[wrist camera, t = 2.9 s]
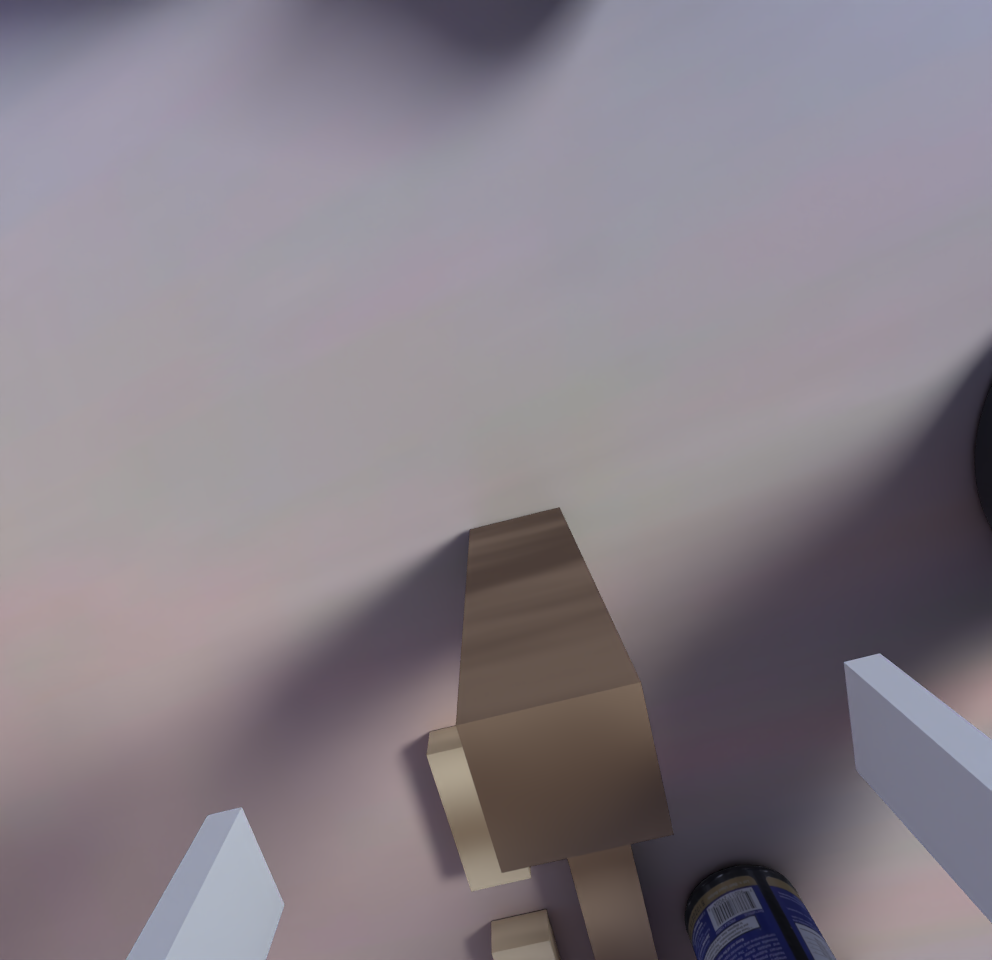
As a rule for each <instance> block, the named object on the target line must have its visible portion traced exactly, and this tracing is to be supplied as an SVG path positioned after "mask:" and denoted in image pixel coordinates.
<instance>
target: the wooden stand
mask: <svg viewBox="0 0 992 960" xmlns="http://www.w3.org/2000/svg"><path fill="white" fill-rule="evenodd" d="M456 728H457V731H458V734H459V737H460V741H461V744H462V747H463V750H464V754H465V757H466V760H467V763H468V766H469V770H470V773H471V776H472V779H473V783H474V786H475V789H476V792H477V795H478V799H479V802H480V805H481V808H482V812H483V815H484V818H485V821H486V824H487V828H488V831H489V834H490V837H491V840H492V844H493V847H494V850H495V853H496V857H497V860H498V863H499V866H500V869H501V873H505V872H509V871H514V870H518V869H523V868H527V867H531V866H536V865H540V864H545V863H549V862H554V861H558V860H563V859H568V863H569V866H570V870H571V874H572V877H573V881H574V885H575V888H576V892H577V896H578V899H579V903H580V906H581V910H582V914H583V917H584V921H585V925H586V928H587V932H588V936H589V939H590V943H591V947H592V950H593V954H594V958H595V960H658V958H657V953H656V949H655V945H654V941H653V937H652V933H651V928H650V924H649V920H648V916H647V912H646V908H645V903H644V899H643V895H642V891H641V887H640V882H639V878H638V874H637V870H636V866H635V862H634V857H633V853H632V849H631V845H630V844H634V843H638V842H643V841H647V840H652V839H656V838H661V837H665V836H670V835H674V833H673V829H672V824H671V819H670V815H669V810H668V806H667V801H666V796H665V792H664V787H663V782H662V778H661V773H660V769H659V764H658V759H657V755H656V750H655V745H654V741H653V736H652V731H651V727H650V722H649V718H648V713H647V708H646V704H645V699H644V694H643V690H642V685H641V681H640V679H639V677H638V675H637V673H636V671H635V669H634V666H633V664H632V662H631V660H630V658H629V656H628V653H627V651H626V649H625V647H624V645H623V643H622V641H621V638H620V636H619V634H618V632H617V630H616V628H615V626H614V623H613V621H612V619H611V617H610V615H609V613H608V611H607V608H606V606H605V604H604V602H603V600H602V598H601V595H600V593H599V591H598V589H597V587H596V585H595V583H594V580H593V578H592V576H591V574H590V572H589V570H588V568H587V565H586V563H585V561H584V559H583V557H582V555H581V553H580V550H579V548H578V546H577V544H576V542H575V540H574V538H573V535H572V533H571V531H570V529H569V527H568V525H567V522H566V520H565V518H564V516H563V514H562V512H561V510H560V507H559V508H555V509H551V510H547V511H543V512H539V513H535V514H531V515H527V516H523V517H519V518H515V519H511V520H507V521H503V522H499V523H495V524H491V525H487V526H483V527H479V528H475V529H470V535H469V549H468V563H467V577H466V591H465V605H464V619H463V633H462V647H461V661H460V675H459V688H458V702H457V716H456Z"/></svg>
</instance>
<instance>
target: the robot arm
mask: <svg viewBox="0 0 992 960" xmlns="http://www.w3.org/2000/svg"><path fill="white" fill-rule="evenodd" d="M975 473H976V483H977V488H978V493H979V497H980V501H981V505H982V508H983V510H984V513H985V516H986V518H987V520H988V522H989V524H990V526H991V528H992V386H991V388H990V391H989V393H988V396H987V399H986V402H985V404H984V407H983V411H982V415H981V418H980V423H979V427H978V432H977V440H976V450H975ZM844 669H845V678H846V687H847V695H848V704H849V713H850V722H851V730H852V739H853V748H854V757H855V766H856V771H857V772H858V773H859V774H860V775H861V776H862V777H863V779H864V780H865V781H866V782H867V783H868V784H869V785H870V786H871V788H872V789H873V790H874V791H875V792H876V793H877V794H878V795H879V797H880V798H881V799H882V800H883V801H884V802H885V803H886V804H887V806H888V807H889V808H890V809H891V810H892V811H893V812H894V813H895V815H896V816H897V817H898V818H899V819H900V820H901V821H902V822H903V824H904V825H905V826H906V827H907V828H908V829H909V830H910V832H911V833H912V834H913V835H914V836H915V837H916V838H917V839H918V841H919V842H920V843H921V844H922V845H923V846H924V847H925V848H926V850H927V851H928V852H929V853H930V854H931V855H932V856H933V857H934V859H935V860H936V861H937V862H938V863H939V864H940V865H941V866H942V868H943V869H944V870H945V871H946V872H947V873H948V874H949V876H950V877H951V878H952V879H953V880H954V881H955V882H956V883H957V885H958V886H959V887H960V888H961V889H962V890H963V891H964V892H965V894H966V895H967V896H968V897H969V898H970V899H971V900H972V901H973V903H974V904H975V905H976V906H977V907H978V908H979V909H980V910H981V912H982V913H983V914H984V915H985V916H986V917H987V918H988V919H989V921H990V922H991V923H992V740H991V739H990V738H989V737H988V736H986V735H985V734H984V733H982V732H981V731H980V730H979V729H977V728H976V727H975V726H973V725H972V724H971V723H969V722H968V721H967V720H966V719H964V718H963V717H962V716H960V715H959V714H958V713H957V712H955V711H954V710H953V709H951V708H950V707H949V706H947V705H946V704H945V703H944V702H942V701H941V700H940V699H938V698H937V697H936V696H935V695H933V694H932V693H931V692H929V691H928V690H927V689H925V688H924V687H923V686H922V685H920V684H919V683H918V682H916V681H915V680H914V679H913V678H911V677H910V676H909V675H907V674H906V673H905V672H903V671H902V670H901V669H900V668H898V667H897V666H896V665H894V664H893V663H892V662H890V661H889V660H888V659H887V658H885V657H884V656H883V655H881V654H880V653H879V654H875V655H871V656H867V657H863V658H858V659H854V660H850V661H846V662H844ZM283 908H284V902H283V900H282V898H281V896H280V893H279V891H278V889H277V886H276V884H275V882H274V880H273V877H272V875H271V873H270V870H269V868H268V866H267V864H266V861H265V859H264V857H263V854H262V852H261V850H260V848H259V845H258V843H257V841H256V838H255V836H254V834H253V832H252V829H251V827H250V825H249V822H248V820H247V818H246V816H245V813H244V811H243V809H242V807H240V808H236V809H232V810H227V811H223V812H219V813H215V814H211V815H208V816H207V817H206V819H205V821H204V823H203V824H202V826H201V828H200V830H199V831H198V833H197V835H196V837H195V839H194V840H193V842H192V844H191V846H190V847H189V849H188V851H187V853H186V854H185V856H184V858H183V860H182V861H181V863H180V865H179V867H178V869H177V870H176V872H175V874H174V876H173V877H172V879H171V881H170V883H169V884H168V886H167V888H166V890H165V892H164V893H163V895H162V897H161V899H160V900H159V902H158V904H157V906H156V907H155V909H154V911H153V913H152V914H151V916H150V918H149V920H148V922H147V923H146V925H145V927H144V929H143V930H142V932H141V934H140V936H139V937H138V939H137V941H136V943H135V945H134V946H133V948H132V950H131V952H130V953H129V955H128V957H127V959H126V960H266V958H267V955H268V952H269V949H270V946H271V943H272V940H273V937H274V934H275V931H276V929H277V926H278V923H279V920H280V917H281V914H282V911H283Z"/></svg>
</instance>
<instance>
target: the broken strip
mask: <svg viewBox="0 0 992 960" xmlns="http://www.w3.org/2000/svg"><path fill="white" fill-rule="evenodd" d="M426 756H427V759H428V762H429V765H430V768H431V771H432V774H433V777H434V780H435V783H436V786H437V789H438V792H439V795H440V798H441V801H442V804H443V807H444V810H445V813H446V816H447V819H448V822H449V825H450V828H451V831H452V834H453V837H454V841H455V844H456V847H457V850H458V853H459V856H460V859H461V862H462V865H463V868H464V871H465V874H466V877H467V880H468V883H469V886H470V889H471V892H472V891H476V890H481V889H485V888H490V887H494V886H499V885H503V884H508V883H512V882H516V881H521V880H525V879H530V878H531V870H530V867H527V868H523V869H518V870H514V871H509V872H505V873H501V869H500V866H499V863H498V860H497V857H496V853H495V850H494V847H493V844H492V840H491V837H490V834H489V831H488V828H487V824H486V821H485V818H484V815H483V812H482V808H481V805H480V802H479V799H478V795H477V792H476V789H475V786H474V783H473V779H472V776H471V773H470V770H469V766H468V763H467V760H466V757H465V754H464V750H463V747H462V744H461V741H460V737H459V734H458V731H457V728H456V726H453V727H448V728H444V729H440V730H436V731H431V732H430V733H429V740H428V748H427V755H426ZM491 947H492V956H493V959H494V960H561V958H560V955H559V952H558V948H557V945H556V941H555V938H554V934H553V931H552V928H551V924H550V921H549V917H548V914H547V911H546V910H541V911H537V912H532V913H528V914H523V915H519V916H514V917H509V918H505V919H500V920H496V921H491Z"/></svg>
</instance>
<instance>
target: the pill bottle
mask: <svg viewBox="0 0 992 960" xmlns="http://www.w3.org/2000/svg"><path fill="white" fill-rule="evenodd" d="M685 925H686V930H687V933H688V935H689V938H690V941H691V943H692V946H693V949H694V952H695V955H696V958H697V960H836V958H835V957H834V955H833V953H832V951H831V950H830V948H829V946H828V945H827V943H826V941H825V939H824V938H823V936H822V934H821V933H820V931H819V929H818V927H817V926H816V924H815V922H814V921H813V919H812V917H811V915H810V914H809V912H808V910H807V909H806V907H805V905H804V904H803V902H802V900H801V898H800V897H799V895H798V893H797V892H796V890H795V889H794V887H793V886H792V885H791V883H790V882H789V881H788V880H787V879H786V878H785V877H784V876H783V875H781V874H780V873H778V872H776V871H774V870H772V869H769V868H766V867H762V866H739V865H738V866H736V867H731V868H726V869H724V870H721V871H718V872H716V873H714V874H712V875H710V876H709V877H708V878H707V879H705V880H703V881H702V882H701V883H700V884H699V885H698V886H697V887H696V888H695V890H694V891H693V893H692V894H691V896H690V898H689V899H688V902H687V907H686V911H685Z"/></svg>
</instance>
